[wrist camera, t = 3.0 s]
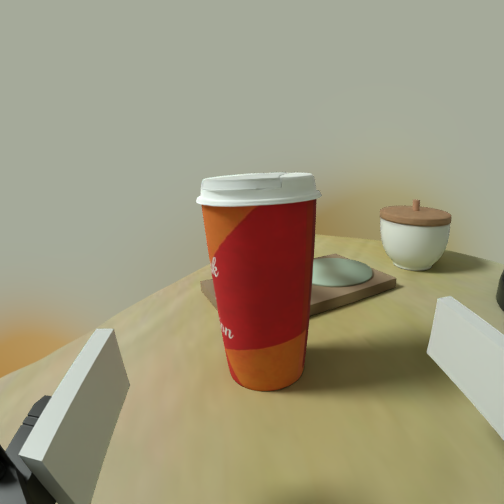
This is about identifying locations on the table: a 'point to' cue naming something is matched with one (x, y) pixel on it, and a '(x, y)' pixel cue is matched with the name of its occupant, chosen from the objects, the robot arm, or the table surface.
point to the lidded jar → (414, 235)
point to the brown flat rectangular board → (334, 283)
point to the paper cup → (262, 271)
